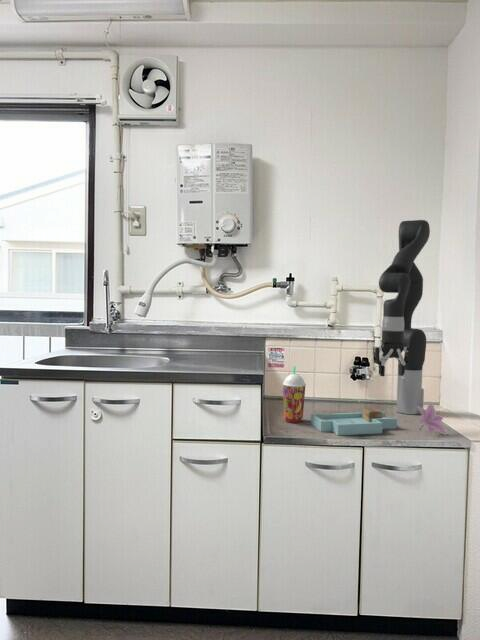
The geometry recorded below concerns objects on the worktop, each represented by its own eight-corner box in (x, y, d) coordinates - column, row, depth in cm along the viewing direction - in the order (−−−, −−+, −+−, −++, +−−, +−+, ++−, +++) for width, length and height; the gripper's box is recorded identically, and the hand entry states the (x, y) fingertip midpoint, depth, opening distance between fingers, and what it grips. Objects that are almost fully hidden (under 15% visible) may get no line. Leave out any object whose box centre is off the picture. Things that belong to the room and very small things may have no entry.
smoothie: (278, 419, 193) (279, 365, 192) (298, 417, 196) (299, 364, 195) (287, 424, 185) (289, 368, 184) (308, 423, 188) (310, 367, 187)
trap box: (383, 421, 193) (383, 411, 192) (404, 432, 178) (404, 422, 178) (310, 424, 187) (311, 414, 187) (326, 435, 172) (326, 425, 172)
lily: (410, 439, 174) (424, 417, 170) (401, 417, 185) (414, 396, 180) (442, 449, 175) (457, 428, 171) (432, 427, 186) (446, 406, 182)
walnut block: (375, 417, 189) (375, 408, 189) (381, 421, 184) (382, 411, 184) (362, 418, 188) (362, 408, 188) (368, 421, 183) (368, 412, 183)
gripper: (406, 328, 191) (404, 373, 192) (369, 328, 188) (368, 374, 189) (417, 330, 183) (415, 377, 184) (379, 330, 180) (377, 378, 182)
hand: (391, 375), depth 187 cm, fingers open, 6 cm apart
